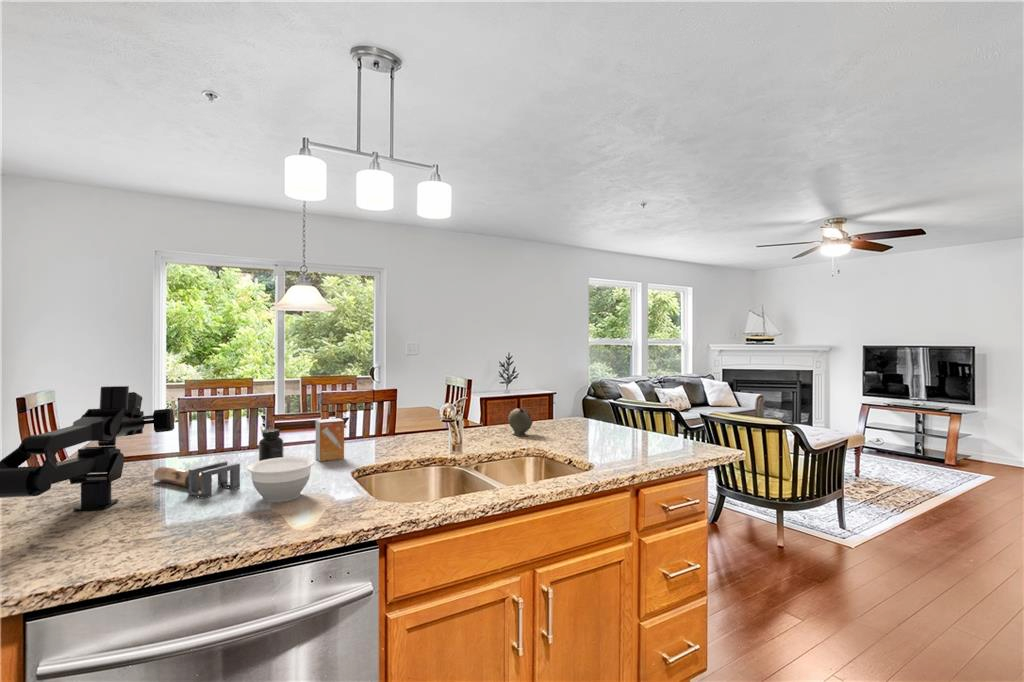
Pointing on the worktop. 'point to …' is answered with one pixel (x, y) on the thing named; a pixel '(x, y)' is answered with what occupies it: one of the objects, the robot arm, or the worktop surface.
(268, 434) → the supplement bottle
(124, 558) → the worktop surface
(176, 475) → the brown rounded cylinder
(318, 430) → the small box
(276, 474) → the bowl
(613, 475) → the worktop surface
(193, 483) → the collar bracket
